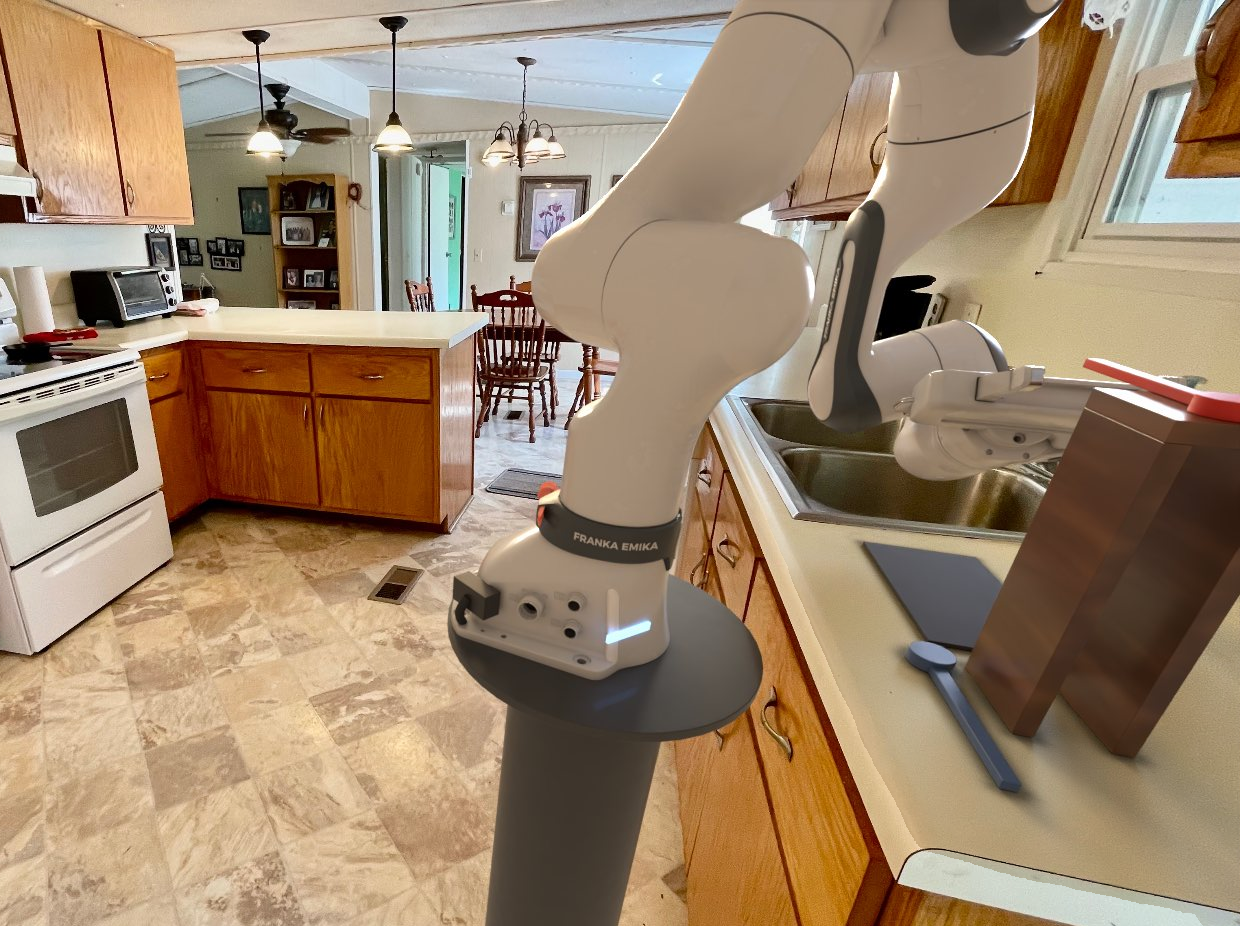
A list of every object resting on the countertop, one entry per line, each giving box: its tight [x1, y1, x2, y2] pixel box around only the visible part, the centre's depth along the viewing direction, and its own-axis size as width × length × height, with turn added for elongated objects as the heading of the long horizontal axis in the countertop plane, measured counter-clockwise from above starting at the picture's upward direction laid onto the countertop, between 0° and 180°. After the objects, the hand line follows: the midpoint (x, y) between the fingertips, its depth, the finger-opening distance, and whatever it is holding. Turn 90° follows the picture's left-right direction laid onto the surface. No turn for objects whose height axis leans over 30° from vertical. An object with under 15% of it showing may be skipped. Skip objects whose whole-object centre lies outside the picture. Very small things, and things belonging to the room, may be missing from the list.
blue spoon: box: [905, 640, 1023, 793], centre depth 55 cm, size 17×4×1 cm, turn 162°
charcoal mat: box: [862, 541, 1003, 652], centre depth 71 cm, size 12×22×1 cm, turn 163°
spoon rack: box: [964, 388, 1240, 759], centre depth 50 cm, size 8×9×26 cm
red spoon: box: [1082, 357, 1240, 423], centre depth 48 cm, size 17×4×1 cm, turn 162°
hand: (1103, 380), depth 54 cm, fingers open, 8 cm apart
